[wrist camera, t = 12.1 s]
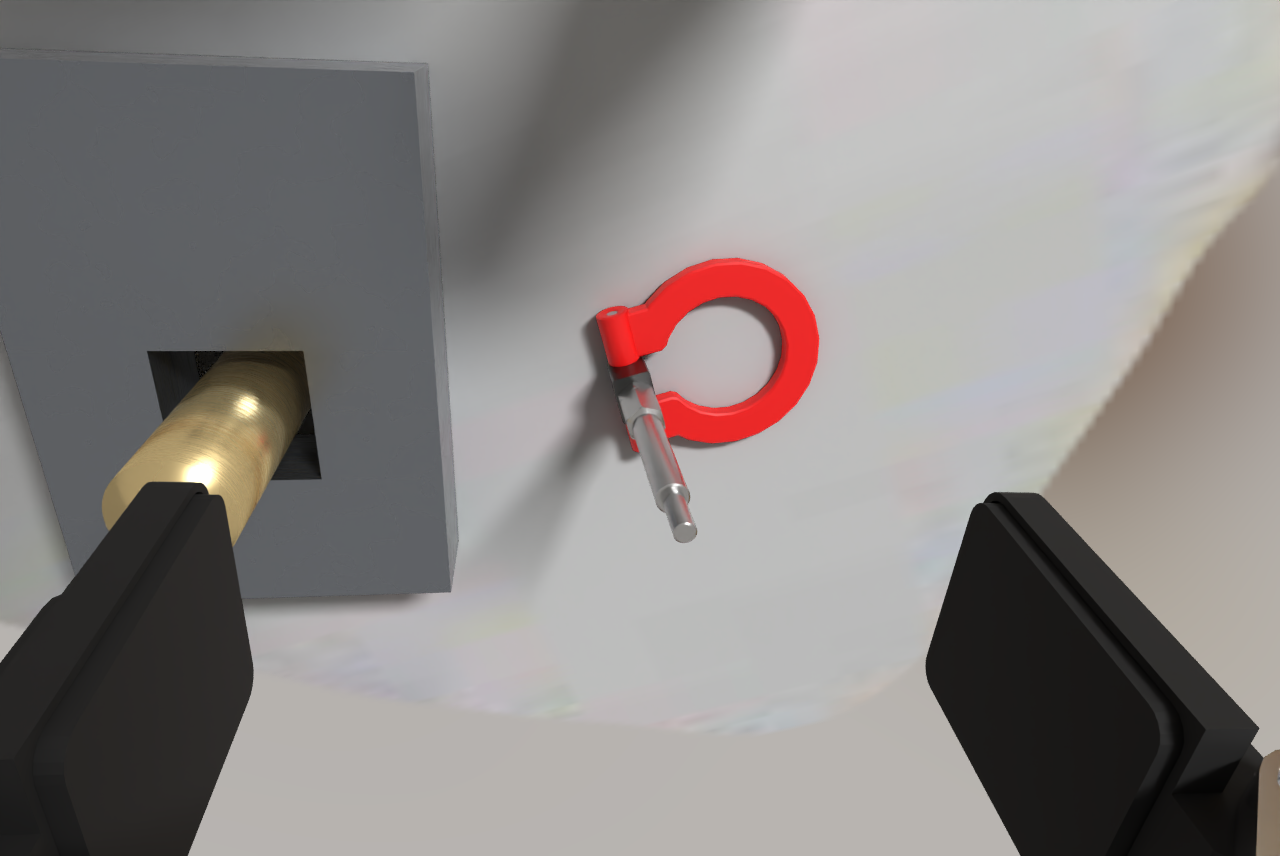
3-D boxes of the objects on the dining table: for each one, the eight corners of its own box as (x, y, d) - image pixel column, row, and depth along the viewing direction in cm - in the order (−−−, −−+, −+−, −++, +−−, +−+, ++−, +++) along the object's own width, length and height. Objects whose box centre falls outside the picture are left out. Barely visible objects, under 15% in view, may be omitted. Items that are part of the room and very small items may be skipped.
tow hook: (796, 232, 37) (586, 291, 36) (934, 338, 25) (629, 425, 25) (822, 404, 41) (632, 458, 40) (951, 563, 29) (688, 640, 29)
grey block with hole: (-11, 48, 30) (-85, 55, 27) (428, 63, 32) (414, 72, 28) (125, 548, 40) (84, 603, 36) (458, 540, 41) (450, 592, 38)
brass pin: (212, 331, 36) (87, 461, 26) (313, 332, 36) (227, 460, 26) (229, 419, 37) (118, 571, 28) (325, 418, 38) (249, 568, 28)
